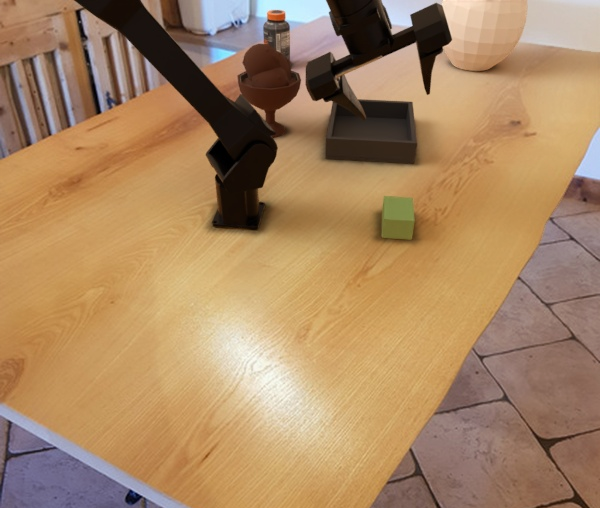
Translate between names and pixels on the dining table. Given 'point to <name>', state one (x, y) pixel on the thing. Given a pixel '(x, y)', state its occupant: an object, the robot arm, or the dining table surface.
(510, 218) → the dining table surface
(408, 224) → the green block
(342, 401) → the dining table surface
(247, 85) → the ice cream bowl
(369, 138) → the dark brown tray
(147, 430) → the dining table surface
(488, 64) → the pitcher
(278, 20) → the pill bottle
